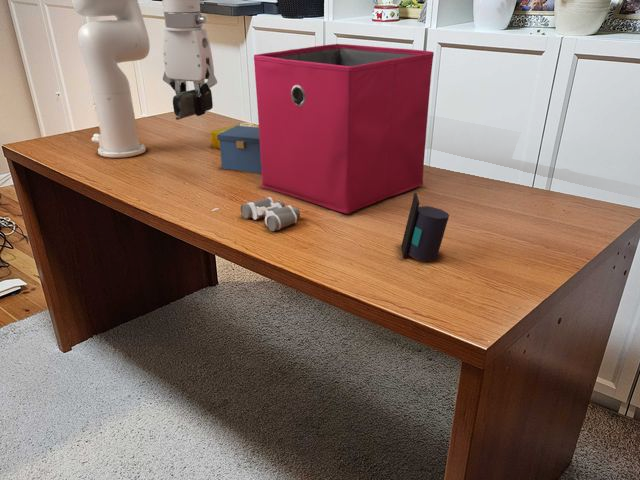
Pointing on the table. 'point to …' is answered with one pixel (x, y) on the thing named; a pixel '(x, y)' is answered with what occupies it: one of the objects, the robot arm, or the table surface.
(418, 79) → the storage bin
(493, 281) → the table surface
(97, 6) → the robot arm
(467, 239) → the table surface
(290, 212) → the binoculars
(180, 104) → the mobile phone
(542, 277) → the table surface
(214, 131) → the element tile
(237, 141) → the blue box
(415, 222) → the speaker
